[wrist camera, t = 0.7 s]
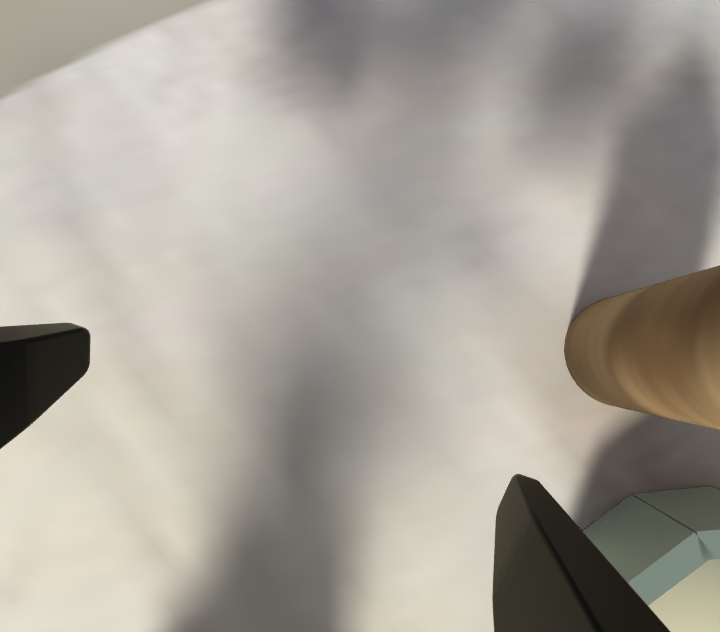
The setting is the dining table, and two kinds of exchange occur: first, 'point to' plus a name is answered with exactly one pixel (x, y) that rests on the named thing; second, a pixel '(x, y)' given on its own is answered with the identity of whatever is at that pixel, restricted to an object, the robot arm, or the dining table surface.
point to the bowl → (668, 553)
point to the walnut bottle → (653, 349)
